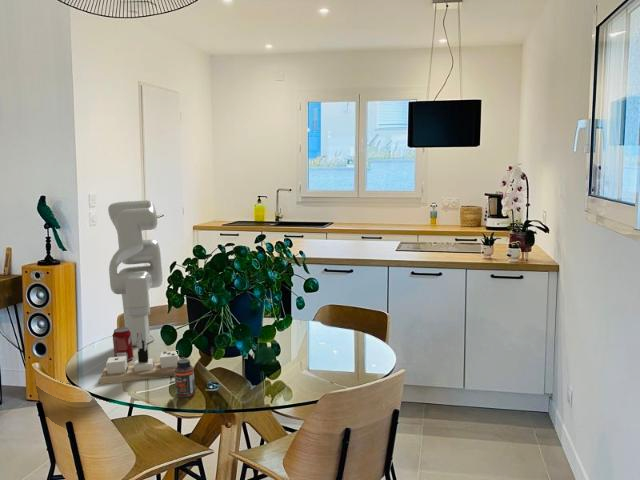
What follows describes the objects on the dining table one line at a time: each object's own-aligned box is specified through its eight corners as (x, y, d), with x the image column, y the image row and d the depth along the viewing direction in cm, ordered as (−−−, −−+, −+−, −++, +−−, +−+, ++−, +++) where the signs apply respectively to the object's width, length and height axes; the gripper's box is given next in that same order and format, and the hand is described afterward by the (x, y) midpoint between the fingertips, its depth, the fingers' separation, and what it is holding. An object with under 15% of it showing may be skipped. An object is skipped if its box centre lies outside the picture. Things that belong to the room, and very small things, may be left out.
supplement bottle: (173, 398, 192) (170, 363, 191) (180, 391, 198) (178, 357, 196) (191, 398, 191) (188, 363, 189) (198, 391, 197) (195, 357, 195)
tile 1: (109, 368, 217) (108, 356, 217) (127, 366, 219) (126, 355, 218) (107, 374, 212) (106, 362, 211) (125, 372, 213) (124, 360, 212)
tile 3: (162, 362, 221) (160, 351, 220) (179, 361, 222) (178, 349, 221) (160, 368, 215) (159, 356, 214) (178, 366, 216) (177, 354, 215)
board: (106, 371, 221) (105, 366, 221) (185, 362, 226) (184, 357, 226) (100, 383, 208) (99, 378, 208) (184, 374, 213) (183, 369, 213)
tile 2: (136, 370, 219) (135, 359, 219) (153, 368, 220) (152, 357, 220) (134, 376, 214) (133, 364, 213) (152, 374, 215) (151, 362, 214)
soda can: (127, 363, 229) (125, 331, 227) (111, 362, 230) (108, 331, 229) (136, 357, 236) (134, 326, 234) (120, 356, 237) (117, 326, 235)
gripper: (130, 306, 220) (134, 356, 223) (125, 316, 206) (130, 369, 208) (151, 304, 222) (155, 353, 224) (148, 314, 207) (152, 366, 210)
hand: (143, 361), depth 216 cm, fingers closed
